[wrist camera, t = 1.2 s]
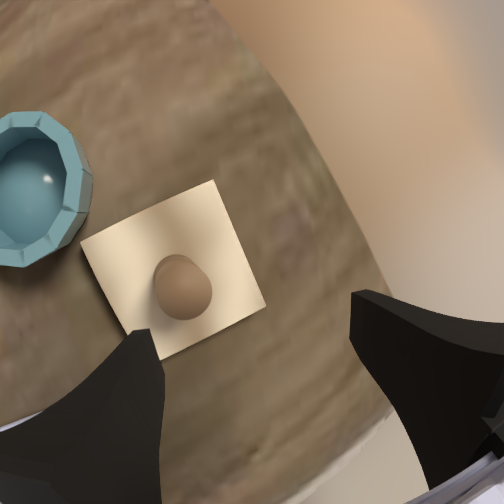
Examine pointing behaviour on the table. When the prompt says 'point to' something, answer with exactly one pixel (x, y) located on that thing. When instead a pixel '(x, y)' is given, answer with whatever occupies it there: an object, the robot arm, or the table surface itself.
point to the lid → (175, 270)
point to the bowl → (40, 187)
